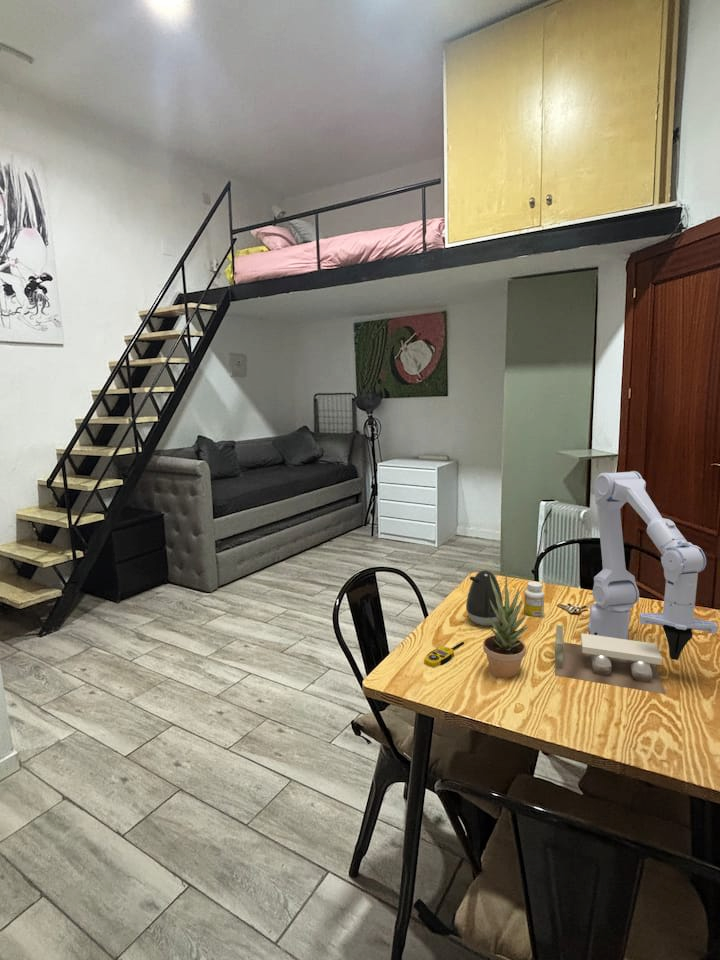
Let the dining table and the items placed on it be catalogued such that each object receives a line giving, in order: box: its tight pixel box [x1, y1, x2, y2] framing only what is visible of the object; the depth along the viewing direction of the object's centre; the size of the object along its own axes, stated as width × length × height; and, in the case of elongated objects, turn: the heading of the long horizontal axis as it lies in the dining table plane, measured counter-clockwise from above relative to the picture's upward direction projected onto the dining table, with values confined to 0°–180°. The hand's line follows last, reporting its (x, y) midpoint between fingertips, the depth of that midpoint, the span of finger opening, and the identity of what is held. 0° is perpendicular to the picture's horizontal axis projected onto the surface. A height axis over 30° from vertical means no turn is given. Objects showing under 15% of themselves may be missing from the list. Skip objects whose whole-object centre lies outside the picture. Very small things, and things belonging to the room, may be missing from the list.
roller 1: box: [591, 654, 612, 675], centre depth 120 cm, size 4×10×4 cm, turn 159°
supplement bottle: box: [523, 580, 545, 619], centre depth 148 cm, size 5×5×10 cm
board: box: [554, 624, 667, 695], centre depth 119 cm, size 22×17×7 cm
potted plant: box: [482, 574, 529, 679], centre depth 117 cm, size 10×10×25 cm
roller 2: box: [629, 660, 652, 682], centre depth 117 cm, size 4×10×4 cm, turn 159°
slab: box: [580, 632, 663, 666], centre depth 118 cm, size 16×7×2 cm, turn 69°
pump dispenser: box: [465, 569, 504, 627], centre depth 144 cm, size 10×10×15 cm
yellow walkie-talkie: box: [423, 641, 465, 668], centre depth 128 cm, size 5×2×15 cm
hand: (673, 657), depth 114 cm, fingers closed
